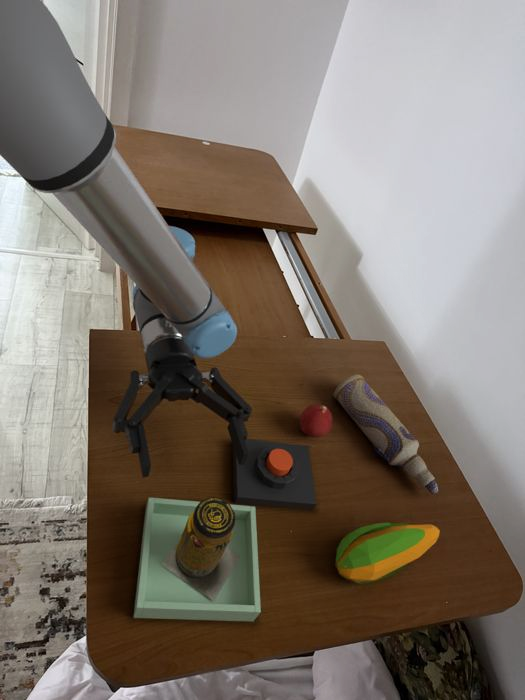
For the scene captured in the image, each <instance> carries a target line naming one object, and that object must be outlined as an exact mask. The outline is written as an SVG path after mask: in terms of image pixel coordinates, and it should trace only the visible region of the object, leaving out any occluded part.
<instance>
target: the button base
mask: <svg viewBox="0 0 525 700" xmlns="http://www.w3.org/2000/svg"><path fill="white" fill-rule="evenodd" d="M245 443H246V446H247V449H248V452H249V455H248V457H247V460H246V462H245V464H244V465H239V463H238V459H237V456H236V453H235V450H234V447H233V446H232V464H233V465H232V466H233V467H232V468H233V470H232V471H233V504H234V505H245V506H258V507H268V508H269V507H270V508H281V509H292V510H293V509H294V510H303V511H313V510H314V509H315V507H316V506H317V504H318V502H317V495H316V489H315V483H314V476H313V469H312V461H311V455H310V448H309V446H308V445H304V444H303V445H301V444H293V443H285V442H277V441H269V440H262V439H253V438H246V440H245ZM274 449H283V450H285V451H287V452H288V453H289V454H290V455H291V457H292V459H293V464H292V467H291V468H290V470H289V472H288V473H287V474H286V475H284V476H276V475H274V474H272V473H271V472H270V471H269V470H268V469H267V466H266V460H267V458H268V456H269V454H270V452H271V451H272V450H274Z"/></svg>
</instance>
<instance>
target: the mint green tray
mask: <svg viewBox="0 0 525 700" xmlns="http://www.w3.org/2000/svg"><path fill="white" fill-rule="evenodd" d="M147 499H148V500H147V502H146V507H145V512H144V519H143V528H142V537H141V538H142V539H141V545H140V547H141V549H140V556H139V565H138V572H137V573H138V575H137V581H136V582H137V583H136V592H135V600H134V607H133V608H134V609H133V619H155V620H156V619H157V620H159V619H160V620H188V621H189V620H190V621H191V620H193V621H221V622H222V621H223V622H225V621H226V622H252V623H253V622H254V621H255V620H256V619H257V617H258V616H259V615H260V613H262V611H261V591H260V590H261V589H260V574H259V573H260V572H259V571H260V570H259V569H260V568H259V552H258V533H257V515H256V514H257V513H256V512H257V511H256V506H254V505H243V504H230V505H231V507H232V509H233V511H234V512H235V524H234V527H233V534H232V537H231V540H230V542H229V544H228V545H227V548H229V549H230V550H231V551H233V552H235V553H236V554H237V555H239V556H240V558H239V560H238V561H237V563H236V565H235V567H234V568H233V570H232V572H231V573H230V575H229V577H228V578H227V580H226V582H225V583H224V585H223V587H222V588H221V590H220V592H219V593H218V595H217V597H216V598H215V600H214V601H213V600H211V599H210V598H209V597H207V596H206V595H204V594H203V593H201V592H200V591H198V590H197V589H195V588H194V587H193V586H191V585H190V584H188V583H187V582H185V581H184V580H182V579H181V578H179V577H178V576H177V575H175V574H174V573H172V572H171V571H170V570H168V569H167V568H165V567H164V566H163V565H161V564H162V563H163V562H164V560H165V559H166V557H167V556H168V555H169V553H170V552H171V551H172V549H173V548H174V547H175V545H176V544H177V542H178V541H179V540H180V538H181V536H182V534H183V532H184V529H185V526H186V523H187V520H188V518H189V516H190V515H191V513H192V512H193V511H194V510H195V508H196V506H197V505H198V504H199V503H200V502H201V501H195V500H194V501H193V500H183V499H172V498H159V497H148V498H147Z"/></svg>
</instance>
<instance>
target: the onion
mask: <svg viewBox="0 0 525 700" xmlns="http://www.w3.org/2000/svg"><path fill="white" fill-rule="evenodd" d="M299 416H300V417H299V425H300V429H301V431H302V432H303V433H304V434H306V436H308V437H310V438H322V437H325V436H326V435H328V434H329V432H330V431H331V429H332V427H333V421H334V419H333V415H332V412H331V411H330V409H329V408H328V407H327V406H325V405H324V404H320V403H317V404H311V405H309V406H307V407H305V408H304V409H303V410H302V412H301V413H300V415H299Z"/></svg>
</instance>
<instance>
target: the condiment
mask: <svg viewBox="0 0 525 700" xmlns="http://www.w3.org/2000/svg"><path fill="white" fill-rule="evenodd" d="M199 502H200V503H199V504H198V505H197V506H196V508H195V510H194V511H193V512H192V513H191V515H190V516H189V518H188V520H187V523H186V526H185V529H184V532H183V534H182V536H181V538H180V540H179V541H178V542H177V544H176V545H175V547H174V548H173V549H172V551H171V552H170V553H169V555H168V556H167V557H166V559H165V560H164V562H163V563H162V564H161V565H163V566H164V567H165V568H167V569H168V570H170V571H171V572H172V573H174V574H175V575H177V576H178V577H179V578H181V579H182V580H184V581H185V582H187V583H188V584H190V585H191V586H193V587H194V588H195V589H197V590H198V591H200V592H201V593H203V594H204V595H206V596H207V597H209V598H210V599H211V600H213V601H214V600H215V598H216V597H217V595H218V593H219V592H220V590H221V588H222V587H223V585H224V583H225V582H226V580H227V578H228V577H229V575H230V573H231V572H232V570H233V568H234V567H235V565H236V563H237V561H238V560H239V558H240V556H239V555H237V554H236V553H235V552H233V551H231V550H230V549H229V548H227V545H228V544H229V542H230V540H231V537H232V534H233V527H234V524H235V512H234V511H233V509H232V507H231V505H232V504H231V503H228V502H227V501H226V500H224V499H222V498H220V497H214V496H212V497H211V496H210V497H207V498H205V499H203V500H201V501H199Z"/></svg>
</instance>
